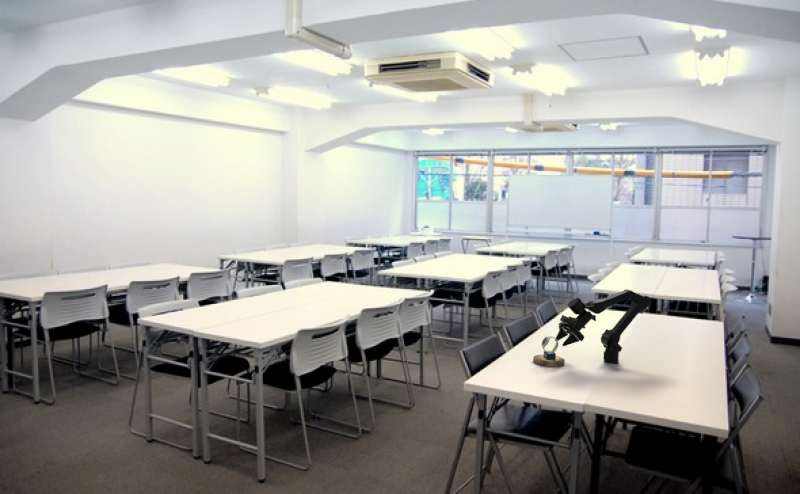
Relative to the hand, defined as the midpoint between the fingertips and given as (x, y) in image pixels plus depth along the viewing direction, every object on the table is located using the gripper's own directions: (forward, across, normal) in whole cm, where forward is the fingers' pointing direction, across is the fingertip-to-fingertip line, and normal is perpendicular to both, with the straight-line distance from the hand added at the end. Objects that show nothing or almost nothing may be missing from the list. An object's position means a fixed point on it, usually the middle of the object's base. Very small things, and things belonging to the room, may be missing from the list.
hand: (559, 343), depth 282 cm
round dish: (+10, 0, +3) cm, 11 cm away
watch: (+9, 0, +2) cm, 9 cm away
